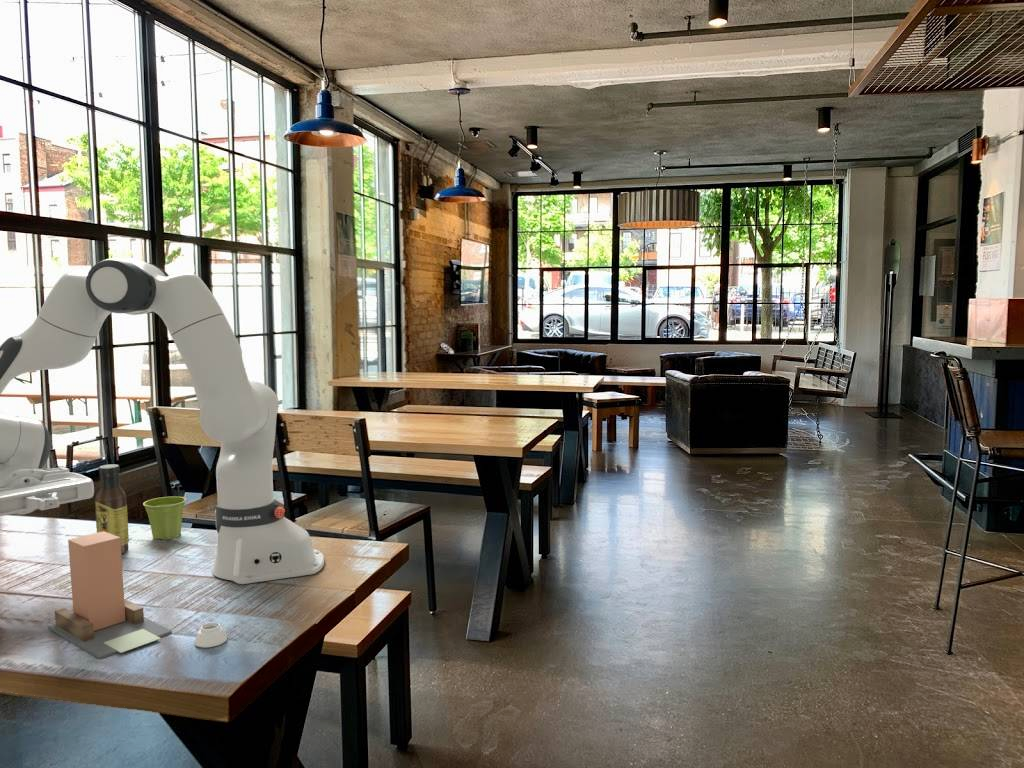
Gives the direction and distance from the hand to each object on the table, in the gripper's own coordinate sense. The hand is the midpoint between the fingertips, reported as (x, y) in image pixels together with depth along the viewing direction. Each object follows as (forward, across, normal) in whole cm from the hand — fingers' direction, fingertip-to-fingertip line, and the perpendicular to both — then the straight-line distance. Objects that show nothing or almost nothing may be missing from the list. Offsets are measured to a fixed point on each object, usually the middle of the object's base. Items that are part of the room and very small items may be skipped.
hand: (50, 504), depth 143 cm
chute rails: (+17, 0, +18) cm, 25 cm away
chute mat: (+21, 0, +18) cm, 28 cm away
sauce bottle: (-21, +20, +20) cm, 35 cm away
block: (+17, 0, +18) cm, 25 cm away
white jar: (+38, +8, +18) cm, 43 cm away
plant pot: (-23, +34, +20) cm, 45 cm away
